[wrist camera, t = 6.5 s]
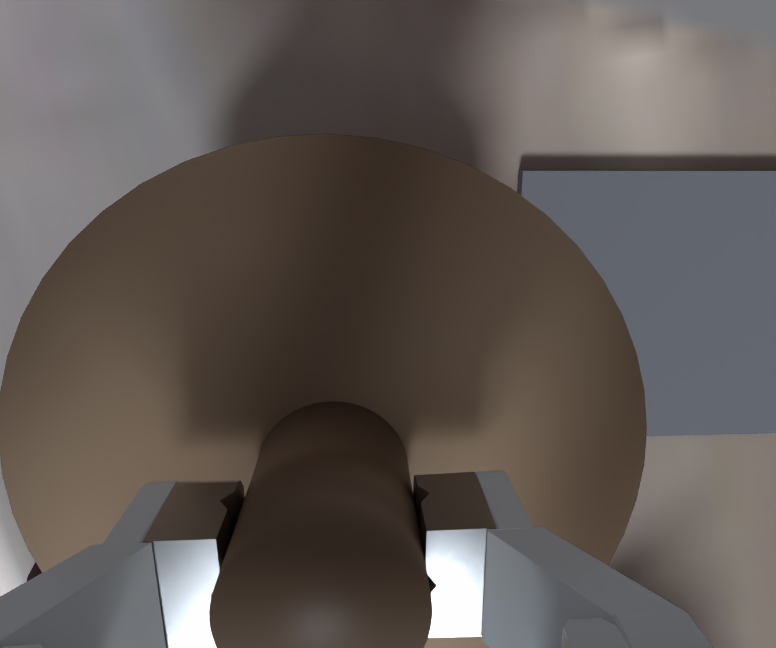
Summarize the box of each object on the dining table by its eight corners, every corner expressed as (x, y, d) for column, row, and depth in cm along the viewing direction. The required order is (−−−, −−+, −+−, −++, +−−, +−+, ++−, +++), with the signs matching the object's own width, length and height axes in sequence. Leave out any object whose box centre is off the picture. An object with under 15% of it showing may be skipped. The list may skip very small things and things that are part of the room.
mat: (843, 170, 24) (855, 171, 23) (787, 426, 27) (796, 432, 27) (518, 170, 23) (522, 170, 23) (502, 433, 26) (505, 439, 26)
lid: (654, 142, 10) (892, 120, 6) (586, 660, 14) (705, 913, 9) (-16, 133, 10) (-349, 100, 5) (78, 680, 13) (-75, 963, 8)
